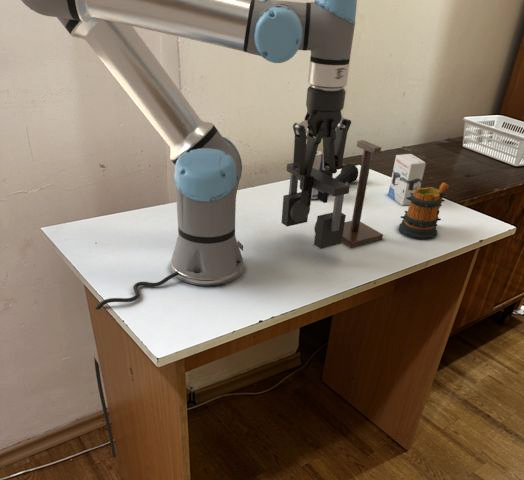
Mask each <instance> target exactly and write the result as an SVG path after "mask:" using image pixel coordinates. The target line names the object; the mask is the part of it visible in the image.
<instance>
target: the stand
mask: <svg viewBox="0 0 524 480" xmlns="http://www.w3.org/2000/svg"><path fill="white" fill-rule="evenodd" d="M356 147H357V148H359V149H362V150H363V152H362V157H361V162H360V163H361V164H360V170H359V174H358V182H357V188H356V193H355V200H354V206H353V213H352V217H351V220H348V221H345V224H344V230H343V236H342V243H343V244H344V245H345V246H347V247H349V248H355V247H359V246H363V245H368V244H370V243H373V242H374V243H375V242H378V241H382V240H383V237H384V234H383V233H382V232H379V231H378V230H376V229H375V228H372V227H370V226H369V225H367V224H366V223H364V222H362V221H361V219H362V213H363V207H364V203H365V202H364V201H365V196H366V190H367V185H368V180H369V175H370V168H371V164H372V163H371V162H372V157H373V154H374V155H377V154H381V152H382V146H379V145H376V144H374V143H371V142H369V141H366V140H364V139H363V140H357V141H356Z"/></svg>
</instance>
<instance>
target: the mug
mask: <svg viewBox="0 0 524 480" xmlns="http://www.w3.org/2000/svg"><path fill="white" fill-rule="evenodd" d="M449 187H450V185H449V184H448V183H446V182H442V183H441V184H440V185H439V188H435V187H433V186H429V187H420V188H418V189H417V188H416V189H415V191H414V193H410V194H411V197H407V198H406V199H408V200H410V201H411V203H410V205H408V209H407V210H404V214H403V215H400V218H401V219H402V220H401V223H399V226H398V230H397V231H398V232H399V234H401V235H402V236H403V237H407V238H410V239H412V240H419V241H429V240H433V239H435V238H436V237H437V235H438V234H437V233H438V229H437V227H438V222H439V221H441V220H442V218H439V214H440V208H441V207H442V206H443V205H442V202H445V199H443V198H444V197H445V194H446V190H448V188H449Z"/></svg>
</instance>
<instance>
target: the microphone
mask: <svg viewBox="0 0 524 480" xmlns="http://www.w3.org/2000/svg"><path fill="white" fill-rule="evenodd" d="M334 178H335V179H337V180H338V181H340V182H342V183H344V184H346V183H347V184H348V183H349V184H351V183H354V182H356V181H357V179H358V178H359V169H358V167H357V166H356V165H355V164H350V163H347V164H344V165H342V166H341V168H340V173H339V174H338V175H337V176H336V177H334Z"/></svg>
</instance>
